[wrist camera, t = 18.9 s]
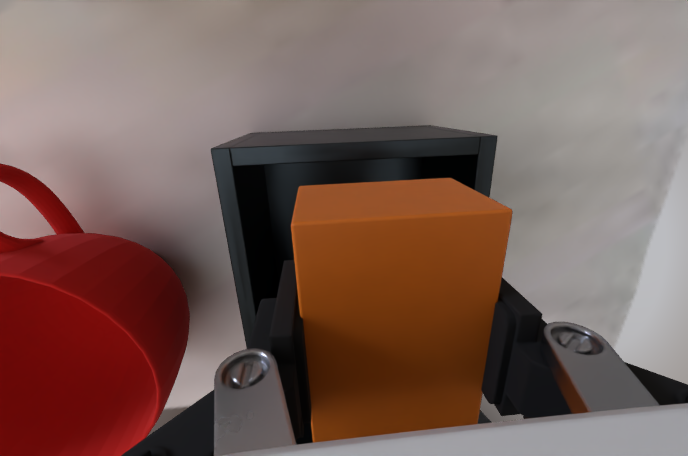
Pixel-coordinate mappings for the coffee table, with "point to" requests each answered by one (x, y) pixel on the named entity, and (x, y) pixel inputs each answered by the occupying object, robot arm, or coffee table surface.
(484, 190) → the bin
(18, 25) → the coffee table surface
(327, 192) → the orange block
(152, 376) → the ceramic cup
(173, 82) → the coffee table surface
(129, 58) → the coffee table surface
